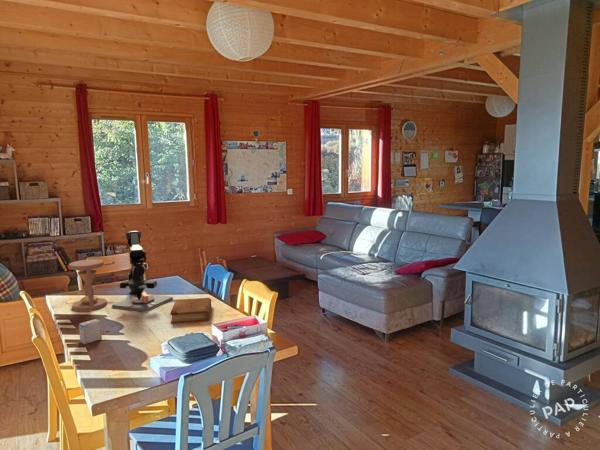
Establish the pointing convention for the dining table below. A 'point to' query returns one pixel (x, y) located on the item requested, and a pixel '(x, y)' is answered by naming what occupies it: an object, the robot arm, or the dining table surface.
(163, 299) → the panel
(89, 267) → the wooden pedestal stand
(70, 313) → the dining table surface
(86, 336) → the medicine box
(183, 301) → the diary
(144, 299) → the dial
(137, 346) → the dining table surface
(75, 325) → the dining table surface
